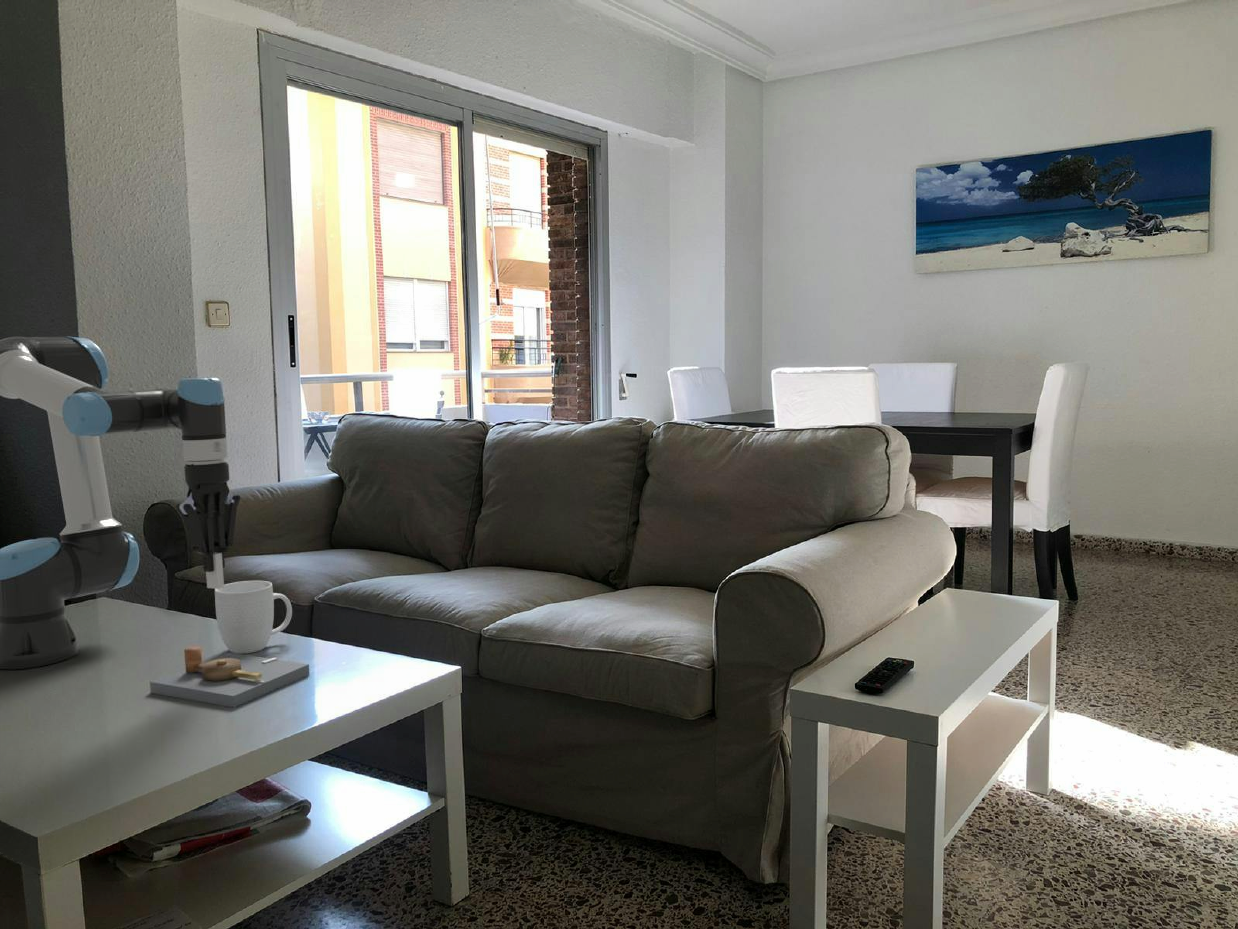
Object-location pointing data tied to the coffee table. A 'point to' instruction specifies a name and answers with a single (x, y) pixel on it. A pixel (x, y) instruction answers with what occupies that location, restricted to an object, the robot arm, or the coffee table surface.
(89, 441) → the robot arm
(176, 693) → the board
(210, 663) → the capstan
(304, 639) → the coffee table surface
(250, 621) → the mug
